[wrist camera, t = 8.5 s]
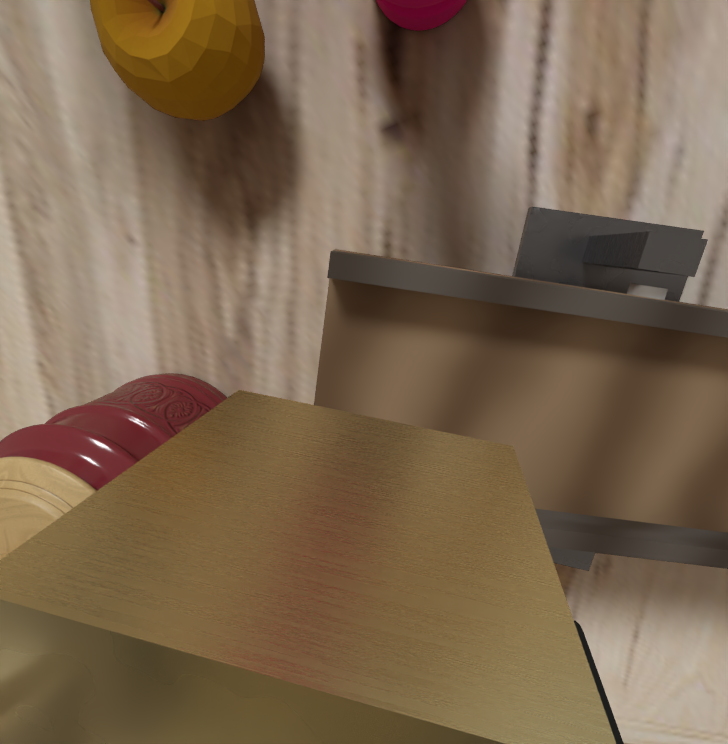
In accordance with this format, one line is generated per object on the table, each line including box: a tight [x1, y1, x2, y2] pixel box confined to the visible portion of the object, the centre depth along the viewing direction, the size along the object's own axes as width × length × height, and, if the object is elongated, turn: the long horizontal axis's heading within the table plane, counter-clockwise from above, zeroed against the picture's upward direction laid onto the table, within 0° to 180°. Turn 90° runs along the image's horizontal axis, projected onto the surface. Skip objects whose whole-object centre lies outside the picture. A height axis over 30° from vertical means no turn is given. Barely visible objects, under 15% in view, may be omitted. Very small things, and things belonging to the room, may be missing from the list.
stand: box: [512, 207, 708, 571], centre depth 26 cm, size 10×20×9 cm, turn 171°
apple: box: [90, 0, 265, 121], centre depth 25 cm, size 9×9×9 cm
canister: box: [0, 373, 227, 560], centre depth 29 cm, size 13×13×18 cm
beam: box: [314, 249, 728, 569], centre depth 21 cm, size 30×13×6 cm, turn 81°
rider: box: [0, 390, 616, 744], centre depth 8 cm, size 6×6×6 cm
